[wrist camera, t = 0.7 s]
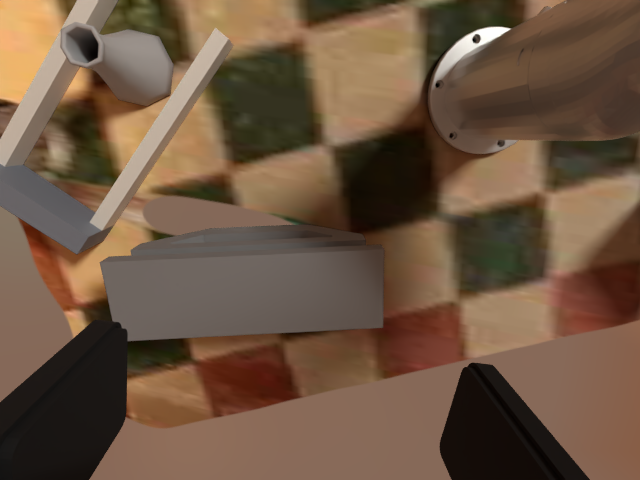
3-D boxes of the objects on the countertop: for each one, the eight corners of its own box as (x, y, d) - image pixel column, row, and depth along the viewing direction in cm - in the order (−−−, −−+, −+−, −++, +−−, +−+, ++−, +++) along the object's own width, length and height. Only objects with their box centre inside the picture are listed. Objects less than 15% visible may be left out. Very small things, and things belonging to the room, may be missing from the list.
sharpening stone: (161, 292, 44) (117, 341, 33) (151, 230, 41) (99, 262, 31) (364, 283, 44) (383, 327, 34) (364, 221, 42) (384, 249, 32)
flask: (166, 26, 36) (116, -15, 26) (181, 102, 38) (139, 90, 28) (94, 33, 36) (17, -5, 26) (113, 110, 38) (48, 100, 28)
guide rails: (124, -47, 34) (110, -61, 32) (233, 45, 36) (228, 38, 34) (9, 156, 38) (-10, 157, 36) (113, 225, 41) (102, 230, 39)
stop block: (9, 156, 38) (-33, 158, 34) (113, 225, 41) (88, 236, 36) (-1, 173, 39) (-43, 178, 34) (103, 240, 42) (77, 254, 37)
